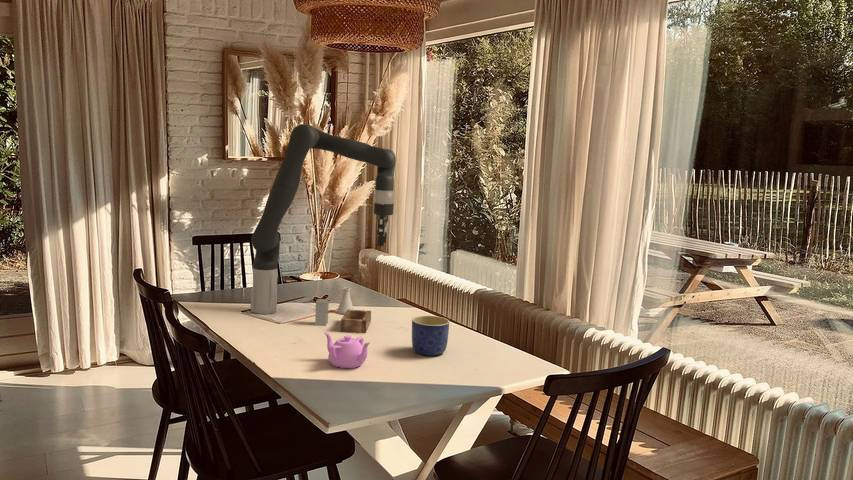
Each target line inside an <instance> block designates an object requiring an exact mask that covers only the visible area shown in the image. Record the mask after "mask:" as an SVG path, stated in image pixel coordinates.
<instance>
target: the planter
mask: <svg viewBox="0 0 853 480" xmlns="http://www.w3.org/2000/svg"><path fill="white" fill-rule="evenodd" d="M449 331H450V320H449V319H447V318H445V317H442V316H437V315H418V316H414V317H413V318H411V345H412V349H413V351H415V353H417V354H419V355H422V354H423V355H422V356H428V355H434V356H439V355H442V354H443V353H445V351H446V349H447V346H448V340H449Z"/></svg>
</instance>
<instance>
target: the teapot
mask: <svg viewBox="0 0 853 480" xmlns="http://www.w3.org/2000/svg"><path fill="white" fill-rule="evenodd" d="M323 334H324V335H325V336H326V340H327V344H326V345H327V346H326V347H327V351H328V358H327V360H328V362H329V363H330V364H331V365H332V366H333V367H334V366H336V367H335V368H337V367H340V368H339V369H344V368H351V369H356V368H355V367H357V368H359V367H358V366H360V367H361V366H362V365H363V364H365V362H366V360H367V358H368V346H369V345H370V344H371V342H365V343H364V340H365V339H364V336H358V337H356V338H354V337H352V335H343V337H341V338H338V339H337V340H335V342H334V343H333V338H332V336H331V334H330V333H328V332H326V331H324V332H323Z"/></svg>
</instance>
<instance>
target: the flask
mask: <svg viewBox="0 0 853 480" xmlns="http://www.w3.org/2000/svg"><path fill="white" fill-rule="evenodd" d="M351 290H352V289H351V287H348V286H347V287H346V286H344V287H342V298H341V300H340V303H339V305H338V307H337V309H336V310H337V311H336V313H337V314H340V315H344V314H345V313H346V311H347V310H355V309H354V306H353V302H352V299H351Z"/></svg>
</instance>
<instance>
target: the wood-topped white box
mask: <svg viewBox="0 0 853 480" xmlns="http://www.w3.org/2000/svg"><path fill="white" fill-rule="evenodd" d="M329 302H330V301H329V299H323V298H318V299H316V301H315V321H314V325H315V326H321V327H322V326H323V327H326V326H327V325H328V324H329V304H330V303H329Z"/></svg>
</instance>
